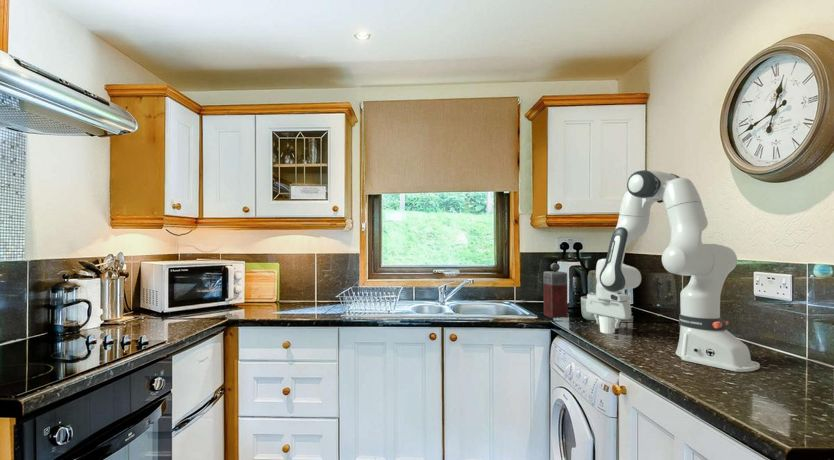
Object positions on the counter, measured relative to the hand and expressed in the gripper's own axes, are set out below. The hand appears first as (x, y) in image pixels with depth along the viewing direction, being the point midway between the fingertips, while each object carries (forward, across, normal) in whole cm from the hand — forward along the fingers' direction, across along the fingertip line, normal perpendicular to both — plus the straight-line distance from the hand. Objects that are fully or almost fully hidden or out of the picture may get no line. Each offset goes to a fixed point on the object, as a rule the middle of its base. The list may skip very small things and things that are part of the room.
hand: (607, 326), depth 170 cm
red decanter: (+3, -38, +8) cm, 39 cm away
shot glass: (+3, 0, 0) cm, 3 cm away
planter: (+3, -22, +18) cm, 29 cm away
